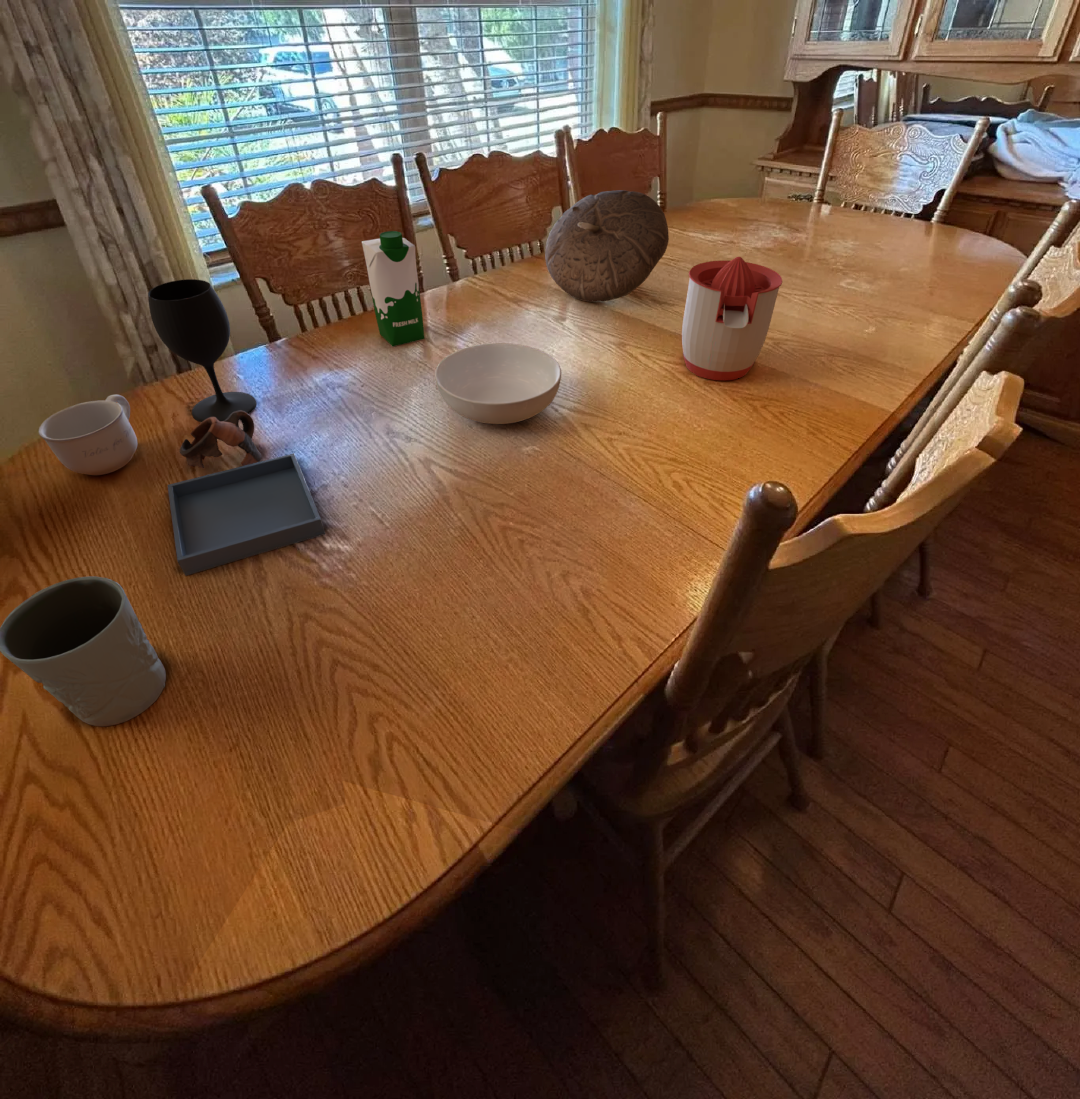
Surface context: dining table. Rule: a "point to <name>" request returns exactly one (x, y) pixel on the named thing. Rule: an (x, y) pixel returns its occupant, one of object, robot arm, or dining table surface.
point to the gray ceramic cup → (85, 649)
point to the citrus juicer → (727, 317)
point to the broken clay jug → (225, 432)
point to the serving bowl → (498, 382)
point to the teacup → (92, 436)
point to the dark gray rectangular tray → (241, 513)
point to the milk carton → (394, 288)
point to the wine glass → (197, 338)
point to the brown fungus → (606, 245)
